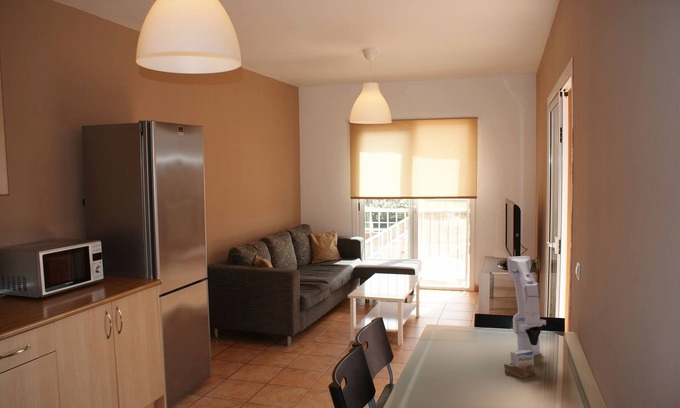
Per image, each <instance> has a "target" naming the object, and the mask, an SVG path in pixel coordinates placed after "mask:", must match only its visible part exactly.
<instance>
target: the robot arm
mask: <svg viewBox="0 0 680 408" xmlns="http://www.w3.org/2000/svg"><path fill="white" fill-rule="evenodd" d="M506 259H507V260H506V261H507V262H506V264H507V273H508V275H509V276H510V277H512V279H513V282H514V287H515V297H516V304H517V305H516V306H517V313H515V314H514V315H513V318H512V329H513V330H512V331H513V333H514V334H515V335H516V337H517V338H516V340H517V351H519V350H525V349H528V350H531V351H533V356H537V355H542V352H541V349H540V338H539V337H540V334H541V332H542V331H543V328H542V326H546V325H547V320H546V319H541V316H540V312H541V311H540V297H541V286H540V284H539V283H538V282H537V281H536V280H535V278H534V275H533V274H532V273H530V272H531V268H532V259H531V257H530V255H523V256H522V255H521V256H519V255H518V256H507V258H506Z"/></svg>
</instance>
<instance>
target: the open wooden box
mask: <svg viewBox="0 0 680 408" xmlns="http://www.w3.org/2000/svg"><path fill="white" fill-rule="evenodd" d="M503 366H504V373H505V374H508V375H511V376H514V377H517V378H520V379H525V378H527V377H530V376H533V375H535V364H534V365H529V366H526V367H523V368H520V367H516V366H513V365H511V361H510V362H507V363H506V362H505V363H504V365H503Z"/></svg>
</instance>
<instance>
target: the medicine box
mask: <svg viewBox="0 0 680 408" xmlns="http://www.w3.org/2000/svg"><path fill="white" fill-rule="evenodd" d="M534 360H535V359H534V356H533V351H531V350H528V349H525V350H519V351H518V350H514V351H510V362H511V365H513V366H516V367H520V368H523V367H526V366H529V365H534V366H535V361H534Z"/></svg>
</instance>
